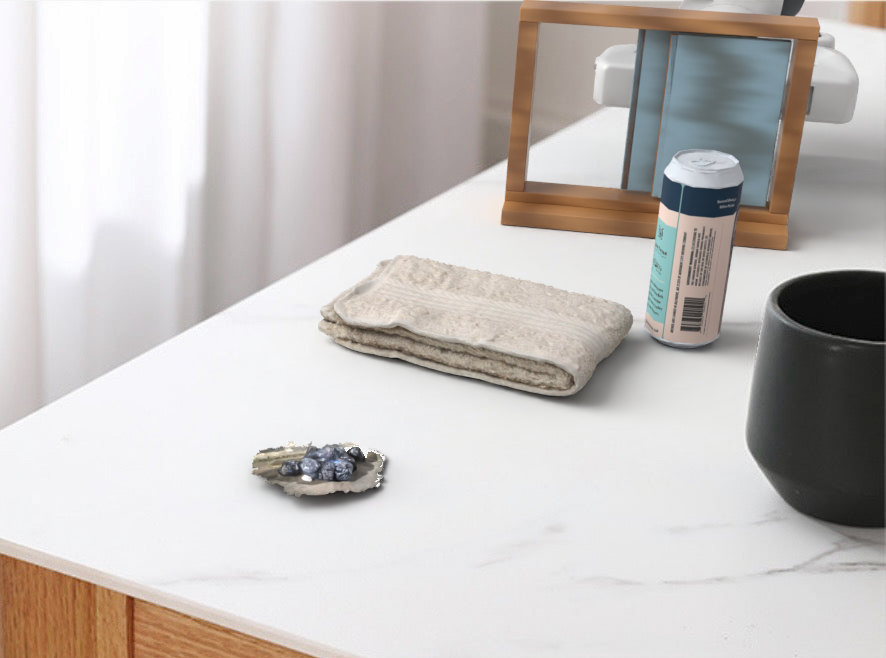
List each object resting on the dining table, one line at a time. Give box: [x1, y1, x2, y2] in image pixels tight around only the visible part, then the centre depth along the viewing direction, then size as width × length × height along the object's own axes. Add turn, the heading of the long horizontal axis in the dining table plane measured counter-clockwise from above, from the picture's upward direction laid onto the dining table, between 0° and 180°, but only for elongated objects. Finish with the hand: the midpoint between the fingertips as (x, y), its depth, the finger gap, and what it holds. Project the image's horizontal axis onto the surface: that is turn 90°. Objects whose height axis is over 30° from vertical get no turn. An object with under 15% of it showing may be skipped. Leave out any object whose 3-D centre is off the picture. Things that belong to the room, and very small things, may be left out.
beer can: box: [643, 149, 744, 349], centre depth 99 cm, size 5×5×12 cm
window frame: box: [500, 0, 821, 251], centre depth 117 cm, size 21×7×16 cm, turn 77°
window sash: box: [619, 29, 758, 192], centre depth 119 cm, size 8×5×12 cm, turn 77°
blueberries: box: [251, 440, 385, 498], centre depth 85 cm, size 7×8×2 cm
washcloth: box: [317, 254, 634, 397], centre depth 100 cm, size 12×18×3 cm, turn 62°
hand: (724, 111), depth 119 cm, fingers open, 4 cm apart
